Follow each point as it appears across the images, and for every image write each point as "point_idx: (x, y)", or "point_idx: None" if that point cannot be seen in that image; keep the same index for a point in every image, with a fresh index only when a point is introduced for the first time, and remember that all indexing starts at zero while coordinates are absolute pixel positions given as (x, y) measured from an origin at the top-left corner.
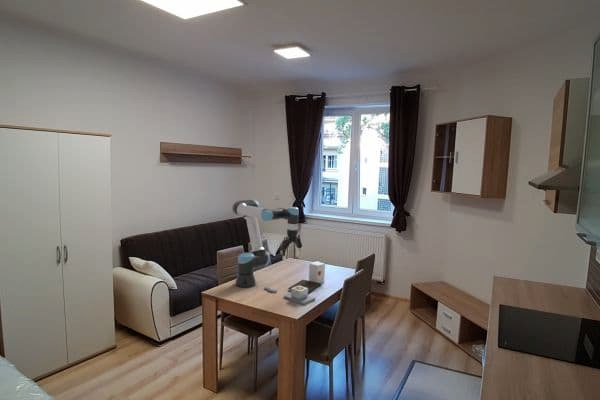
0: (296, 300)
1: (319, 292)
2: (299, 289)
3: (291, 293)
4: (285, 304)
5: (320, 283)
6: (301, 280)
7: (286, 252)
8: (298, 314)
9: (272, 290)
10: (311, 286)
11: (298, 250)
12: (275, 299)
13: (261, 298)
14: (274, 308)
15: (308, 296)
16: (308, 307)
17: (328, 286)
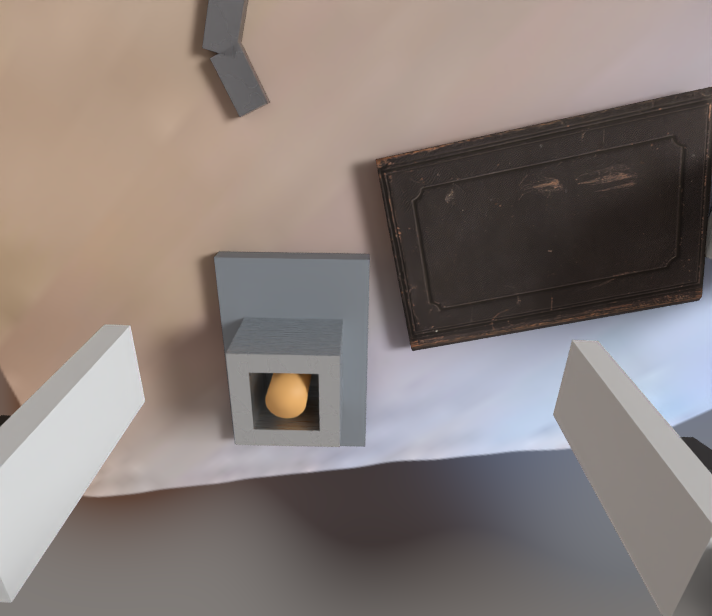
0: (228, 383)
1: (517, 378)
2: (270, 408)
3: (238, 331)
4: (143, 345)
5: (694, 300)
6: (677, 100)
7: (34, 567)
8: (114, 484)
9: (230, 63)
10: (562, 294)
11: (632, 545)
12: (139, 226)
13: (45, 116)
14: (33, 336)
15: (352, 401)
16: (235, 469)
17: (695, 354)
